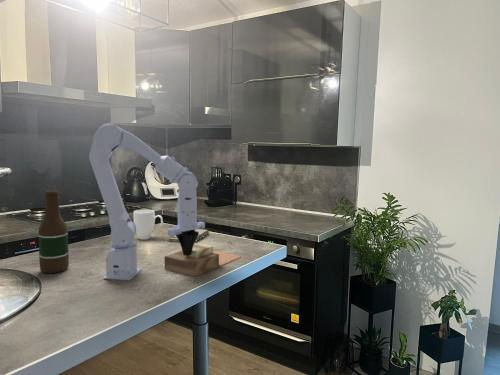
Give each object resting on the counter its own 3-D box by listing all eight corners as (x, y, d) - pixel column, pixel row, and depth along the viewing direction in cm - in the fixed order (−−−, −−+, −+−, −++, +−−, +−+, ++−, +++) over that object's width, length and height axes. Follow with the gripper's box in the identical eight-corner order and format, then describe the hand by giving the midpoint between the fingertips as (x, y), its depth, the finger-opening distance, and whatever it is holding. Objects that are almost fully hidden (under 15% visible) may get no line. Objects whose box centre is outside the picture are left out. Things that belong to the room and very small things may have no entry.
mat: (220, 266, 117) (220, 265, 117) (189, 259, 124) (189, 257, 123) (241, 257, 127) (241, 256, 127) (211, 251, 134) (211, 250, 134)
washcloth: (165, 242, 145) (165, 235, 145) (184, 233, 163) (184, 226, 162) (193, 245, 143) (193, 237, 142) (209, 235, 160) (209, 228, 160)
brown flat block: (194, 277, 107) (194, 263, 106) (164, 268, 113) (164, 256, 113) (218, 266, 117) (219, 254, 116) (190, 259, 123) (190, 247, 123)
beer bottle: (74, 266, 113) (72, 190, 111) (55, 274, 106) (52, 192, 103) (54, 263, 115) (51, 188, 113) (33, 271, 108) (30, 191, 105)
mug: (130, 240, 146) (129, 212, 145) (139, 235, 154) (138, 208, 153) (158, 242, 144) (158, 213, 143) (166, 237, 153) (166, 210, 151)
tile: (196, 258, 112) (196, 251, 111) (182, 254, 115) (182, 248, 115) (213, 252, 118) (213, 246, 118) (199, 249, 122) (199, 243, 121)
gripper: (180, 216, 103) (180, 263, 104) (212, 209, 115) (212, 251, 116) (162, 213, 106) (162, 258, 108) (195, 207, 119) (195, 248, 120)
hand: (187, 254), depth 112 cm, fingers closed
